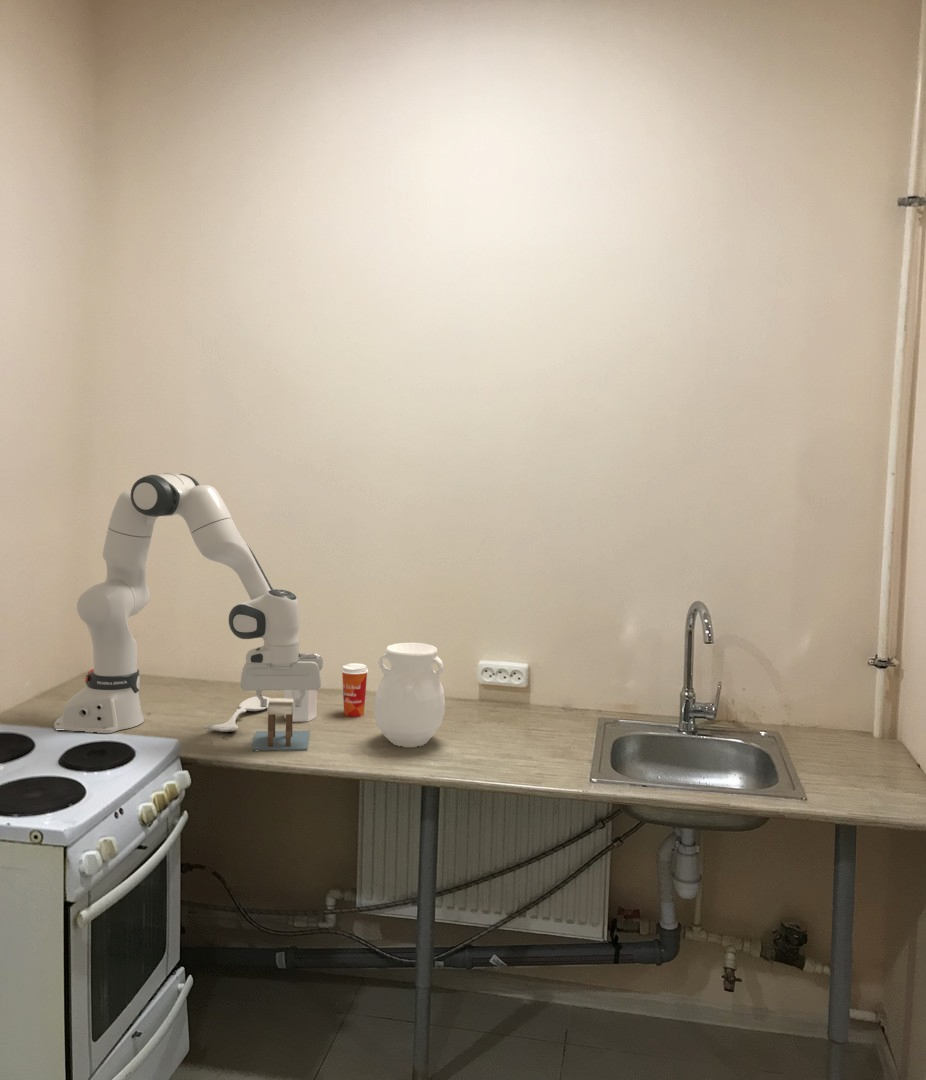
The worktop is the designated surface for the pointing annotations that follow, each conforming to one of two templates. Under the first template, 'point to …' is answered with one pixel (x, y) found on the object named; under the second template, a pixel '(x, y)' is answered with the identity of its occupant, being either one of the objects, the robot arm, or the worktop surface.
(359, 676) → the paper cup
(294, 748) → the mat
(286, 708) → the stool
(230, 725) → the white spork
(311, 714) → the jar
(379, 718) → the white vase
